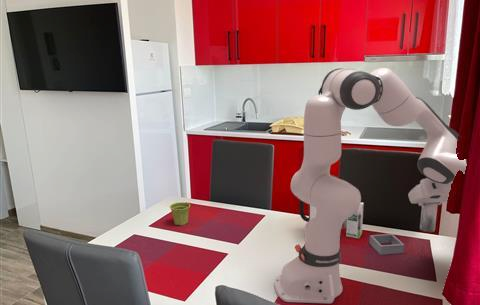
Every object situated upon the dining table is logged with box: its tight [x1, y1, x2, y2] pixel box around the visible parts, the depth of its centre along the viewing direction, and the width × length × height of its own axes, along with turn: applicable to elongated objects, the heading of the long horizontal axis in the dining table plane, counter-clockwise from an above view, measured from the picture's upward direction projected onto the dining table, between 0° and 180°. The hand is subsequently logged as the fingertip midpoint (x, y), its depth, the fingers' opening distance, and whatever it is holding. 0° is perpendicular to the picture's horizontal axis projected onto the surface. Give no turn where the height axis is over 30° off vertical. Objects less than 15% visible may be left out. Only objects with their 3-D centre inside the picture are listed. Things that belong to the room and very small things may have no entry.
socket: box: [368, 233, 406, 256], centre depth 151 cm, size 10×10×4 cm
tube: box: [419, 202, 439, 233], centre depth 138 cm, size 5×5×14 cm
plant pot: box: [169, 201, 191, 226], centre depth 178 cm, size 9×9×9 cm
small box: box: [341, 219, 347, 230], centre depth 171 cm, size 5×4×8 cm
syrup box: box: [345, 202, 364, 239], centre depth 162 cm, size 6×6×14 cm
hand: (428, 203), depth 138 cm, fingers closed on tube, 5 cm apart
